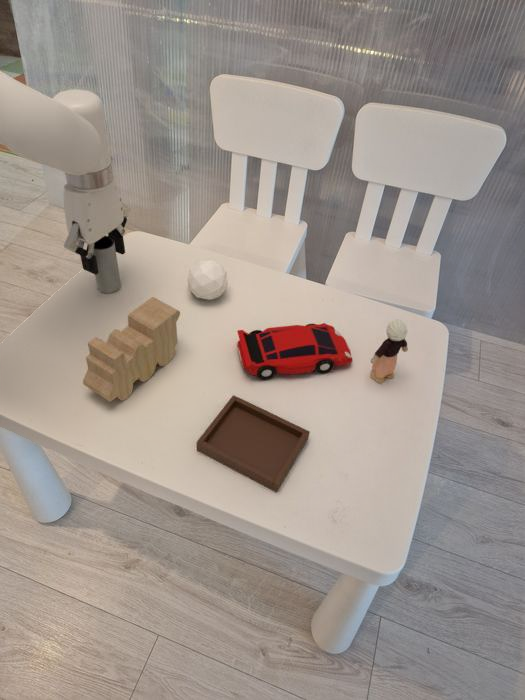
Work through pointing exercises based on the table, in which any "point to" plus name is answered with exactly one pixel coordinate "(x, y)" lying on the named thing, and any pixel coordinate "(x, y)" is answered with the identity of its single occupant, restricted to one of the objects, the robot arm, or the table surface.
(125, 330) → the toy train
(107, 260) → the grey hollow cylinder
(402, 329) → the grandmother figurine
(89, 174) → the robot arm
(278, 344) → the toy car
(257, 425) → the tray
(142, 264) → the table surface
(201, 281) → the geometric ball
